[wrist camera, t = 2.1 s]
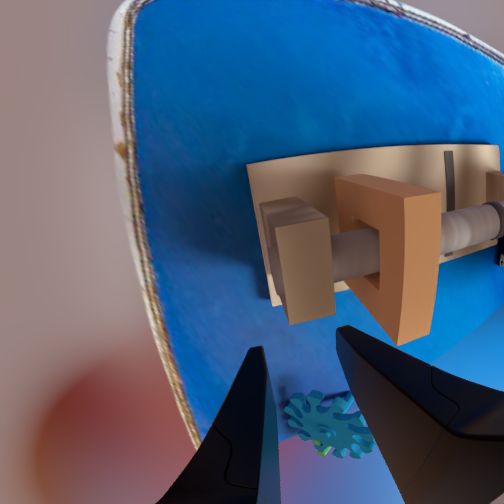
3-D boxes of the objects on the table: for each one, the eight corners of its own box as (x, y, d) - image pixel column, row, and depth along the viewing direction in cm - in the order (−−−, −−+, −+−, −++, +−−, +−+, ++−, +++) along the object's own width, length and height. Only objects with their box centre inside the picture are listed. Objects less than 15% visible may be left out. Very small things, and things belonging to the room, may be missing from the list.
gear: (284, 383, 23) (387, 434, 17) (319, 344, 27) (410, 384, 21) (277, 436, 28) (350, 476, 22) (305, 404, 32) (374, 437, 26)
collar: (362, 173, 17) (440, 192, 9) (368, 274, 19) (429, 333, 12) (334, 177, 17) (404, 198, 9) (343, 280, 19) (396, 346, 12)
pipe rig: (491, 144, 18) (547, 153, 12) (490, 241, 22) (539, 266, 15) (246, 164, 18) (257, 170, 11) (270, 299, 21) (289, 363, 15)
